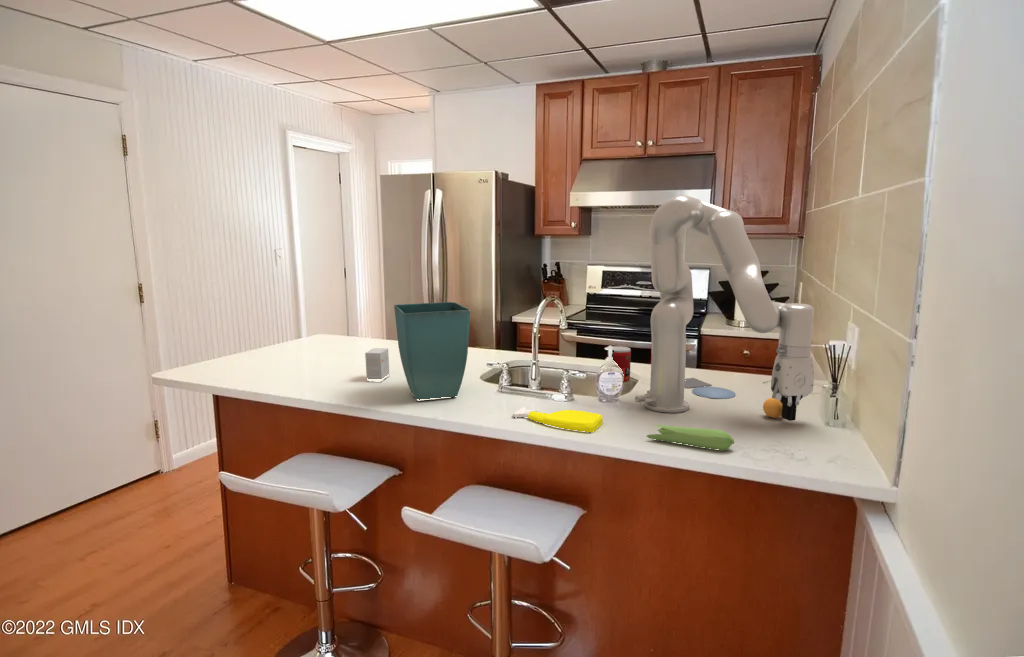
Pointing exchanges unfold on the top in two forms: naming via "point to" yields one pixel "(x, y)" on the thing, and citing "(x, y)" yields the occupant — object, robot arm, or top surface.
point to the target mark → (714, 392)
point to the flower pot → (433, 347)
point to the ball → (772, 407)
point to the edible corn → (694, 437)
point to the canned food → (623, 360)
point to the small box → (377, 363)
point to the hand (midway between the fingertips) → (788, 418)
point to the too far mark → (694, 383)
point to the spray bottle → (564, 419)
